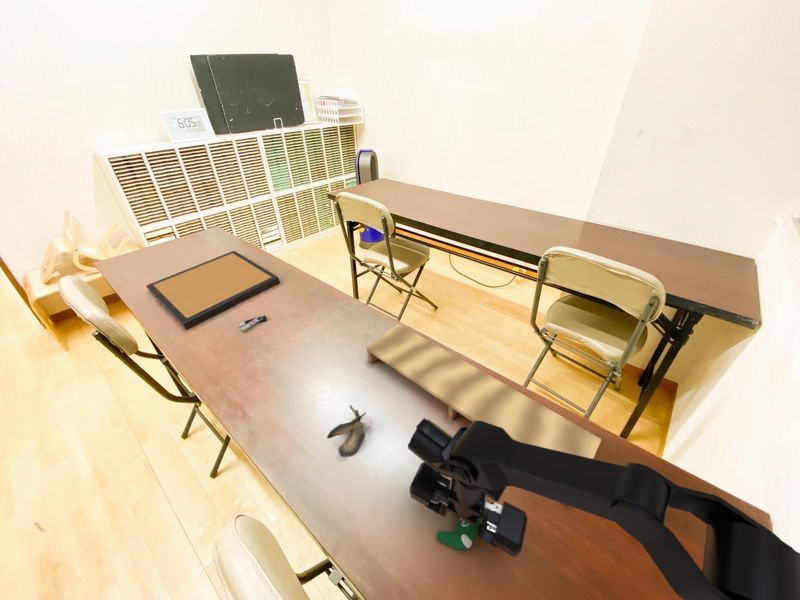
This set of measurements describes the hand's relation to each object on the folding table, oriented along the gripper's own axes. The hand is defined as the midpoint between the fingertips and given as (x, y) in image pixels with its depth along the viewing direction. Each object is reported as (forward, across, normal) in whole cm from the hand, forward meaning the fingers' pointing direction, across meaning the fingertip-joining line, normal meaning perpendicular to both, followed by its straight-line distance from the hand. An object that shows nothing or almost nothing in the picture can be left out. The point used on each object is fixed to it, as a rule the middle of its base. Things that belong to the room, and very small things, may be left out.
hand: (461, 523), depth 59 cm
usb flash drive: (+1, +80, -22) cm, 83 cm away
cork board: (+1, +112, -31) cm, 116 cm away
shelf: (+1, +9, -26) cm, 27 cm away
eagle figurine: (+1, +28, -5) cm, 29 cm away
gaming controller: (+1, 0, 0) cm, 1 cm away
